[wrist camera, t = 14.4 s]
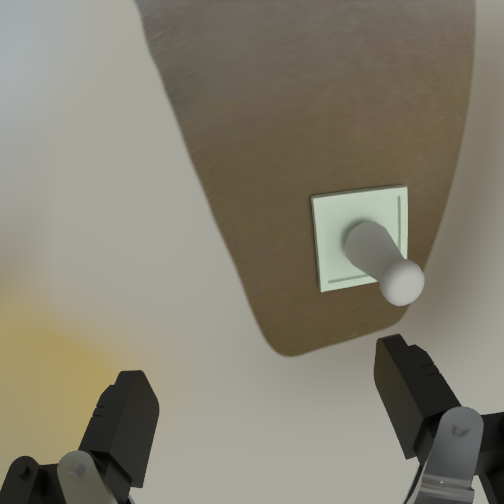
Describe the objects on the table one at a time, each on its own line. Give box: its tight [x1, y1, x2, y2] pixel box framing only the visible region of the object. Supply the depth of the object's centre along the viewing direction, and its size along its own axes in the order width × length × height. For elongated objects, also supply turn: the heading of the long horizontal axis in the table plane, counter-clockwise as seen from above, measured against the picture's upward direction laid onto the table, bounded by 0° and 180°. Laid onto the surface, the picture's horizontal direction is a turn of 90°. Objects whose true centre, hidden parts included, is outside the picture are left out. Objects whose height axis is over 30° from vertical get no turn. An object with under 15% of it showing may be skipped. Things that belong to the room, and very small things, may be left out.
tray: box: [310, 185, 408, 292], centre depth 37 cm, size 12×12×2 cm
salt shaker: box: [345, 222, 424, 306], centre depth 31 cm, size 6×6×13 cm
